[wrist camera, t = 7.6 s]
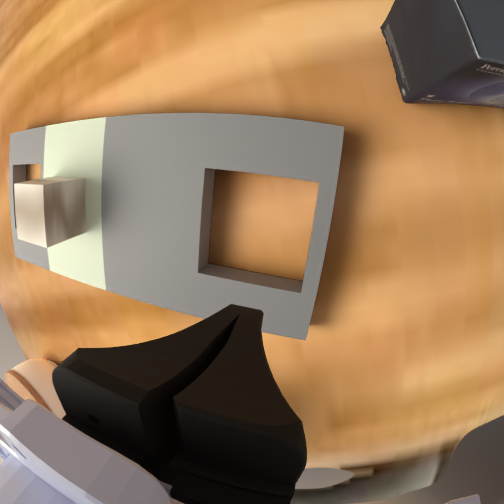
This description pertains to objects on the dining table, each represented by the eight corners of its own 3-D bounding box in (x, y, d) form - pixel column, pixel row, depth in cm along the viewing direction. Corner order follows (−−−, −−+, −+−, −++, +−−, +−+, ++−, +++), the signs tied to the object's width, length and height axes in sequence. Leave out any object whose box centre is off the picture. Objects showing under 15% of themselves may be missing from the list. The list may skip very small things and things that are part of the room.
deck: (307, 325, 21) (305, 340, 19) (27, 251, 27) (15, 256, 25) (341, 130, 17) (344, 126, 15) (23, 133, 22) (10, 133, 20)
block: (86, 232, 21) (46, 248, 17) (54, 225, 22) (17, 238, 18) (85, 177, 20) (43, 184, 15) (53, 176, 20) (14, 183, 16)
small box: (402, 109, 15) (478, 63, 6) (377, 25, 14) (411, -66, 4) (515, 114, 12) (606, 103, 3) (493, 38, 11) (563, -7, 1)
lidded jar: (94, 395, 32) (55, 437, 23) (73, 409, 36) (41, 442, 27) (44, 336, 31) (-1, 369, 22) (31, 359, 35) (-4, 388, 26)
